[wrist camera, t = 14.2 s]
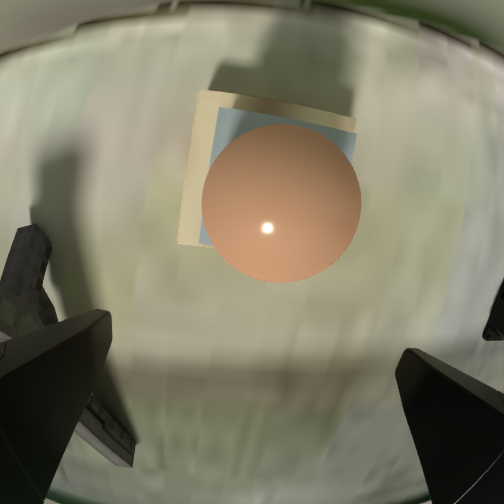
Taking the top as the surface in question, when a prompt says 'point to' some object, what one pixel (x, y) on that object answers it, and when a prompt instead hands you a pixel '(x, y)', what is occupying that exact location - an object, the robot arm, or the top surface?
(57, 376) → the robot arm
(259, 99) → the beech slab
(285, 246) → the orange-tan rounded lump
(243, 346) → the top surface
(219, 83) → the top surface
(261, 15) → the top surface
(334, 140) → the blue-grey cube
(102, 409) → the handgun
